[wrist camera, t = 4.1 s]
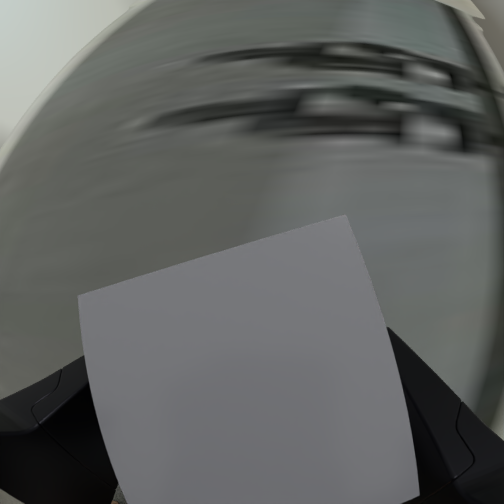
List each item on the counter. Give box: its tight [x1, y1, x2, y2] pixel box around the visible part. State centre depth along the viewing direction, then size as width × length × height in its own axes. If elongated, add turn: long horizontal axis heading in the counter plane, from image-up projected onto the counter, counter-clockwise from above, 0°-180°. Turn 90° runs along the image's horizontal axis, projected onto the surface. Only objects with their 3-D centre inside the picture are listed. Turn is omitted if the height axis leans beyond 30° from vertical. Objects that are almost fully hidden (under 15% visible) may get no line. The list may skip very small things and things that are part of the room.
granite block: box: [78, 214, 420, 504], centre depth 7 cm, size 5×5×8 cm
